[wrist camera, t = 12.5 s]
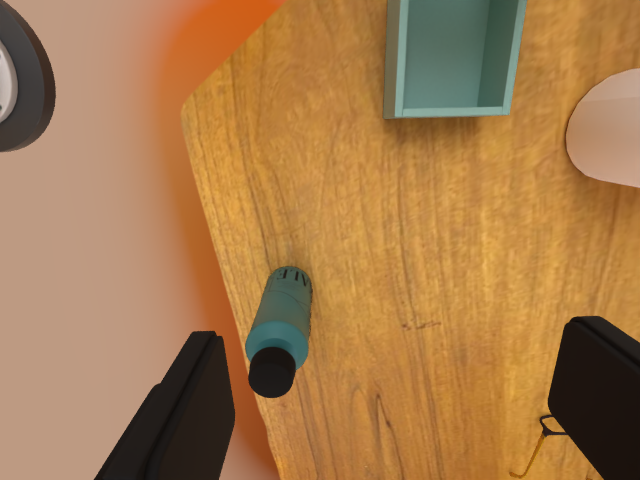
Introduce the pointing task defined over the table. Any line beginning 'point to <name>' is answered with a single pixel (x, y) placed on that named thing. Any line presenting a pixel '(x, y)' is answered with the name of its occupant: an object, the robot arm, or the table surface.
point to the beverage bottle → (280, 332)
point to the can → (608, 130)
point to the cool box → (451, 57)
